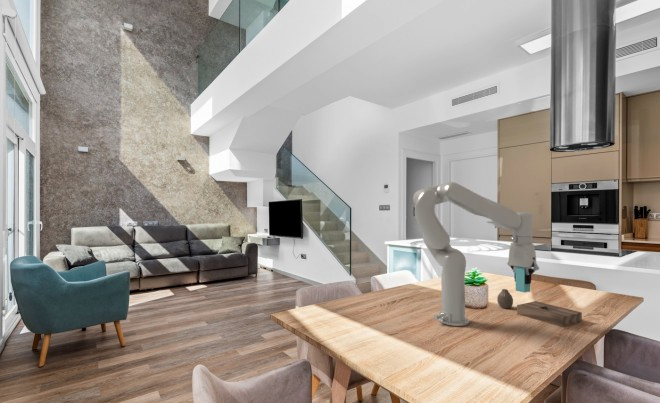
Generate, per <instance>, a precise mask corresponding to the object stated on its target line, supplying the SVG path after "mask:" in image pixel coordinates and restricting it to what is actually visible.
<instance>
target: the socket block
mask: <svg viewBox="0 0 660 403" xmlns="http://www.w3.org/2000/svg"><path fill="white" fill-rule="evenodd" d="M516 314H517V315H521V316H524V317H527V318H531V319H534V320H538V321H540V322H544V323H546V324H547V323H548V324H551V325H554V326H557V327H561V328H564V327H565V328H566V327H568V326H571V325H575V324H579V323H582V322H583V319H582V318H583V316H582V315H583V313H582V312H581V311H578V310H575V309H570V308H566V307H565V308H564V307H561V306H557V305H553V304H550V303H546V302H545V303H544V302H541V301H537V300H536V301H530V302H525V303H520V304H517V305H516Z"/></svg>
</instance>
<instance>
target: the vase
mask: <svg viewBox="0 0 660 403" xmlns="http://www.w3.org/2000/svg"><path fill="white" fill-rule="evenodd" d="M496 299H497V300H496V301H497V304H498V305H499V307H500V308H502V309H505V310H506V309H511V308H512V307H513V305H514V299H513V296H512V294H511V293H510V291H509V290H508V289H507V288H506V289H505V288H502V289H501V291H500V292H499V293H498V295H497V298H496Z"/></svg>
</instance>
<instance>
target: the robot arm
mask: <svg viewBox="0 0 660 403" xmlns="http://www.w3.org/2000/svg"><path fill="white" fill-rule="evenodd" d="M412 201H413V203H414V217H415V221H416V223H417V225H418V226H419V229H420V230H421V232H422V233H423V234H422V240H423V243H424V244H425V246H426V247H427V249H428V251H429V252H430V254H431V255H432V257H433V258H434V260H435V261H436V262H437V263H438V265H440V266H442V269H441V270H442V271H441V281H440V282H441V310H440V311H439V313H438V314H437V313H436V314H434V315H433V319H434V320H438V321H439V322H440V323H441V324H444V325H447V326H452V327H453V326H454V327H463V326H464V327H465V326H468V324H470V320H469V318H468V317H466V295H465V294H466V291H465V290H466V289H465V288H466V286H465V284H466V283H465V281H466V280H465V277H466V276H465V275H466V267H467V260H466V257H465V254H464V253H463V252H462V251H461V250H459V249H457V248H455V247H452V246H451V238H450V235H449V233H448V232H447V231H446V229H445V227H444V226H443V224H442V223H441V222H440V220H439V218H438V217H437V215H436V210H435V208H436V205H440V204H443V203H447V202H448V203H449V202H450V203H452V204H454V205H456V206H458V207H459V208H462V209H463V210H465V211H466V212H468V213H470V214H473V215H474V216H479V217H483V218H486V219H489V220H491V223H492V224H493V225H494V226H495V228H499V229H503V230H512V236H510V240H511V241H512V242H510V246H509V250H508V252H509V253H508V262H507V263H506V264H507V265H508V266H509V267H510V268H511V270H512V272H513V273H514V278H513V279H514V282H515V283H516V274H515V266H518V267H524V268H525V270H526V275H525V284H530V285H531V284H532V275H533V274H534V273H535V272H536V271H538V270H540V267H539V265H538V264H537V254H536V247H535V244H534V243H533V214H532V213H531V212H528V211H514V210H513V209H511V208H508V207H507V206H505V205H503V204H501V203H499V202H496V201H493V200H491V199H489V198H487V197H484V196H482V195H480V194H478V193H476V192H474V191H473V190H470V189H469V188H467V187H465V186H463V185H461V184H459V183H457V182H453V181H449V182H445V183H441V184H438V185H434V186H431V187H427V188H422V189H421V188H420V189H418V190H417V191H415V192H414V194H413V197H412Z"/></svg>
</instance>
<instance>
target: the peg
mask: <svg viewBox="0 0 660 403" xmlns="http://www.w3.org/2000/svg"><path fill="white" fill-rule="evenodd" d="M515 274H516V282H515V291H516V292H521V293H531V284H525V275H526V270H525V268H524V267H518V266H515Z"/></svg>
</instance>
